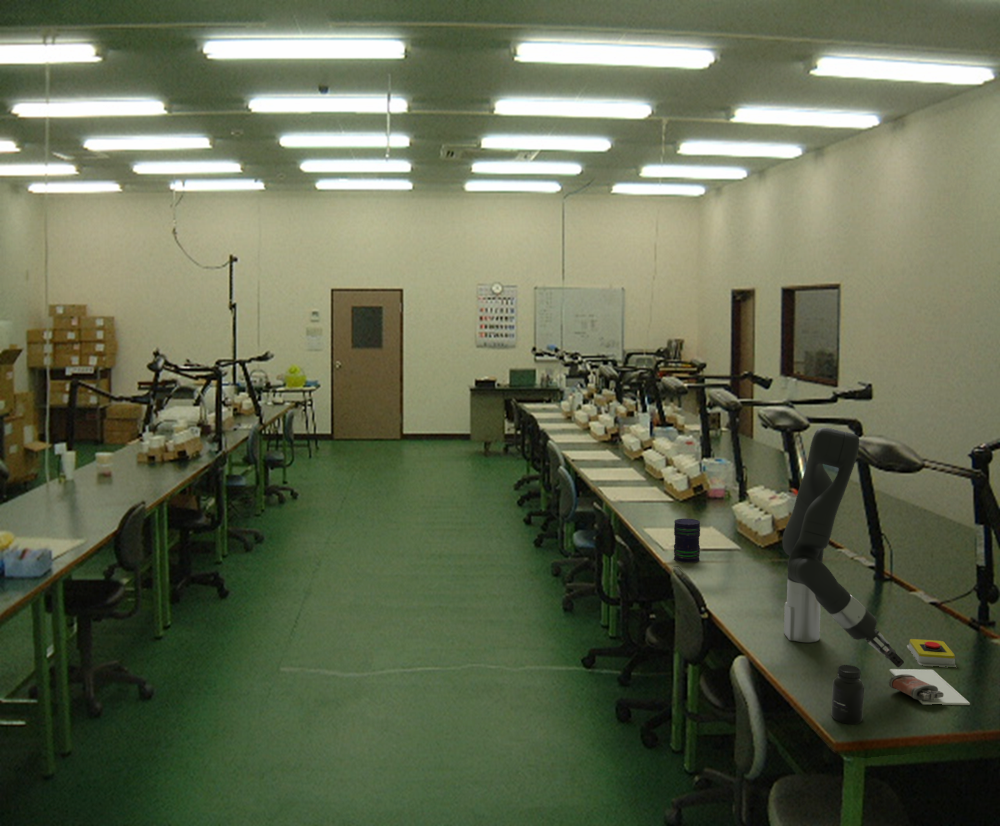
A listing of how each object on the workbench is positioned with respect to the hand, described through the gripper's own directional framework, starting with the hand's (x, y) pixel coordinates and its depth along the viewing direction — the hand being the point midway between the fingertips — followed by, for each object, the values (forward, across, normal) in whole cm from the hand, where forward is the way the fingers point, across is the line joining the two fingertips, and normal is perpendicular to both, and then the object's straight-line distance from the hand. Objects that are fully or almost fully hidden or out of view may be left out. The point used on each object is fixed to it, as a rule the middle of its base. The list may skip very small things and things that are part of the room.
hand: (900, 663), depth 218 cm
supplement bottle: (-9, -18, +18) cm, 27 cm away
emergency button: (+17, +20, -7) cm, 27 cm away
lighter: (+2, -2, +3) cm, 4 cm away
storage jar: (-19, +117, +27) cm, 122 cm away
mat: (+9, 0, -1) cm, 9 cm away
